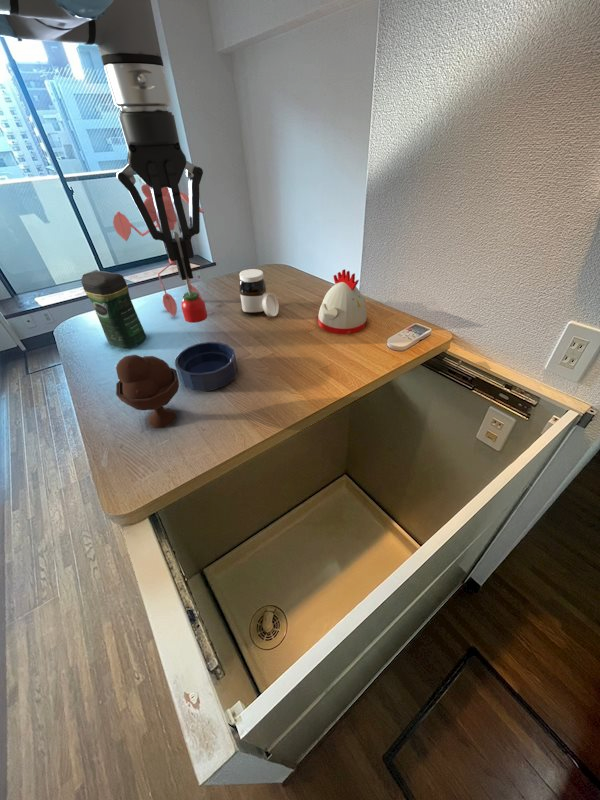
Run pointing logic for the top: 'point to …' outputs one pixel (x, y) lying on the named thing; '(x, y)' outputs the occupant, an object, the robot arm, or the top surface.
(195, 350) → the dessert bowl
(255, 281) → the spread jar
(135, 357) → the ice cream bowl
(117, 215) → the figurine
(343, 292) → the kitchen timer
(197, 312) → the red candy apple
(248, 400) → the top surface
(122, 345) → the coffee jar
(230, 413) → the top surface
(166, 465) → the top surface
